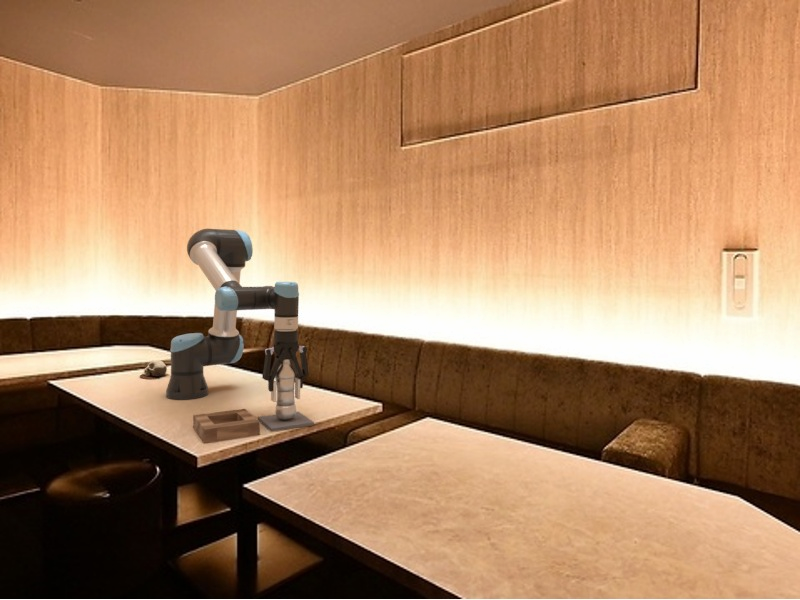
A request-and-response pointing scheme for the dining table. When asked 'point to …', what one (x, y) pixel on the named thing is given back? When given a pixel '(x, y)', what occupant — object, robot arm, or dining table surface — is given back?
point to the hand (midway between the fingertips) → (285, 399)
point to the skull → (155, 370)
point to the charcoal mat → (285, 422)
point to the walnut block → (225, 425)
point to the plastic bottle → (285, 391)
